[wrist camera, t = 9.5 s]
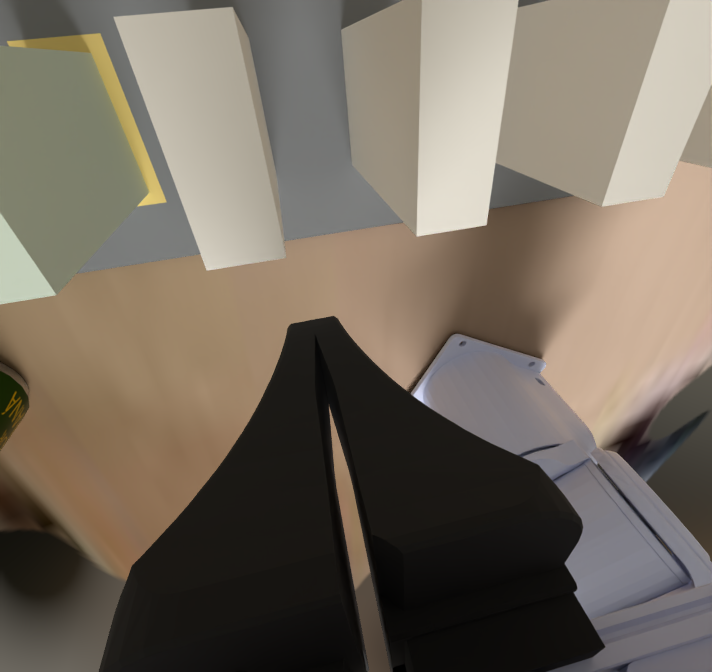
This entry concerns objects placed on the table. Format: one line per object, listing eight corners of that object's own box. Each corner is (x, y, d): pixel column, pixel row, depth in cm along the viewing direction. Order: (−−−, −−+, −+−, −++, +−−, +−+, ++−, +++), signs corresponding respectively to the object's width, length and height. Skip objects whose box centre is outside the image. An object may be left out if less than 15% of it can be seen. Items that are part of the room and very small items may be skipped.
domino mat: (713, -107, 14) (734, -115, 14) (614, 184, 21) (626, 187, 20) (-279, -51, 11) (-314, -59, 10) (-14, 281, 17) (-25, 289, 17)
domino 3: (391, 25, 14) (521, -18, 7) (393, 159, 17) (486, 225, 10) (341, 29, 14) (422, -10, 7) (351, 164, 17) (416, 236, 10)
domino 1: (91, 52, 13) (-122, 36, 6) (149, 192, 16) (56, 294, 9) (30, 58, 13) (-268, 48, 6) (100, 199, 16) (-36, 309, 8)
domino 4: (522, 13, 15) (763, -38, 8) (502, 144, 18) (663, 196, 11) (476, 17, 14) (680, -31, 7) (464, 149, 17) (601, 206, 10)
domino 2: (248, 38, 13) (232, 7, 6) (276, 175, 16) (286, 257, 9) (193, 43, 13) (112, 16, 6) (231, 181, 16) (207, 270, 9)
